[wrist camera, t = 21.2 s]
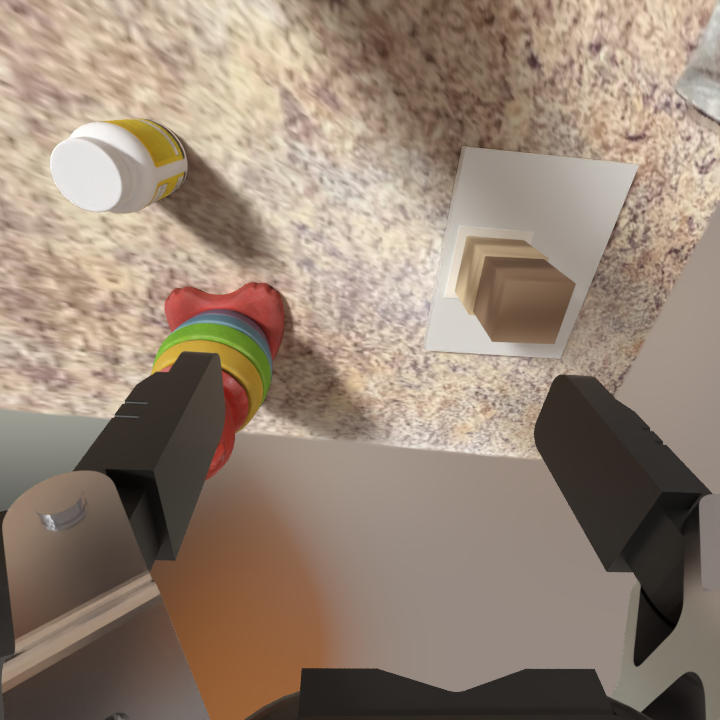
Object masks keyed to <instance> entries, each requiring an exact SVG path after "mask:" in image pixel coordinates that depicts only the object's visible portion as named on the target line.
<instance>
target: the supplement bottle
mask: <svg viewBox="0 0 720 720" xmlns="http://www.w3.org/2000/svg"><path fill="white" fill-rule="evenodd" d="M50 170H51V174H52V177H53V180H54V182H55V184H56V186H57V187H58V189H59V190H60V192H61V193H62V194H63V195H64V196H65V197H66V198H67V199H68V200H69V201H70V202H72V203H73V204H75V205H76V206H78V207H80V208H82V209H84V210H87V211H91V212H105V211H109V212H113V213H132V212H135V211H138V210H140V209H143V208H144V207H146V206H148V205H150V204H152V203H154V202H156V201H158V200H160V199H162V198H164V197H166V196H168V195H170V194H172V193H173V192H175V191H176V190H178V189H179V188H180V187H181V185H182V184H183V183H184V181H185V179H186V176H187V171H188V162H187V156H186V153H185V150H184V148H183V146H182V144H181V142H180V141H179V139H178V138H177V137H176V135H175V134H174V133H173V132H172V131H171V130H169V129H168V128H167V127H165V126H164V125H162V124H160V123H158V122H156V121H153V120H149V119H124V120H113V121H101V122H92V123H88V124H85V125H83V126H81V127H79V128H77V129H76V130H75V131H74V132H73V133H72V134H71V136H70V137H69V139H67V140H64V141H62V142H61V143H59V144H58V145H57V146H56V147H55V148H54V150H53V152H52V154H51V158H50Z"/></svg>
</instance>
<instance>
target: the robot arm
mask: <svg viewBox="0 0 720 720" xmlns="http://www.w3.org/2000/svg"><path fill="white" fill-rule="evenodd" d="M224 423H225V398H224V388H223V378H222V368H221V360H220V356H219V354H218V353H208V352H191V351H183V352H181V354H180V355H179V357H178V358H177V360H176V361H175V363H174V364H173V366H172V367H171V369H170V370H169V372H155V373H154V374H152V375H151V376H149V377H148V378H146V379H145V380H143V381H142V382H140V383H138V384H137V385H136V386H135V388H134V389H133V390H132V392H131V393H130V394H129V396H128V397H127V399H126V400H125V404H122V405H121V407H120V408H119V409H118V411H117V412H116V413H115V417H114V418H112V419H111V420H110V422H109V423H108V424H107V426H106V427H105V428H104V430H103V431H102V432H101V434H100V435H99V436H98V438H97V439H96V440H95V442H94V443H93V444H92V446H91V447H90V448H89V450H88V451H87V453H86V454H85V455H84V457H83V458H82V459H81V461H80V462H79V463H78V465H77V466H76V467H75V469H74V470H73V471H72V472H68V473H64V474H60V475H57V476H54V477H51V478H49V479H47V480H44V481H43V482H41V483H39V484H37V485H35V486H34V487H32V488H31V489H29V490H28V491H26V492H25V493H24V494H23V495H21V496H20V497H19V498H18V499H17V500H16V501H15V502H14V503H13V504H12V506H11V507H10V508H9V509H8V510H6V511H2V512H0V657H3V656H6V655H10V654H13V653H15V655H13V656H12V657H10V658H8V659H7V660H6V661H5V663H4V665H3V670H2V696H3V708H4V720H210V718H209V716H208V713H207V710H206V708H205V706H204V703H203V700H202V698H201V695H200V693H199V690H198V688H197V686H196V683H195V680H194V678H193V675H192V673H191V670H190V668H189V665H188V663H187V660H186V658H185V655H184V653H183V651H182V648H181V645H180V642H179V640H178V637H177V635H176V632H175V630H174V627H173V625H172V623H171V620H170V617H169V615H168V612H167V610H166V607H165V605H164V602H163V600H162V597H161V595H160V592H159V590H158V588H157V585H156V583H155V581H154V580H152V578H151V576H150V571H151V568H152V566H153V564H154V561H155V560H173V561H174V560H176V557H177V554H178V552H179V549H180V546H181V544H182V541H183V538H184V535H185V533H186V530H187V527H188V525H189V522H190V519H191V517H192V514H193V511H194V508H195V506H196V503H197V500H198V498H199V495H200V492H201V490H202V487H203V484H204V481H205V479H206V476H207V473H208V471H209V468H210V465H211V463H212V460H213V457H214V454H215V452H216V449H217V446H218V444H219V441H220V438H221V436H222V433H223V429H224ZM534 438H535V444H536V447H537V449H538V451H539V453H540V454H541V456H542V458H543V460H544V462H545V463H546V465H547V467H548V468H549V470H550V472H551V474H552V475H553V477H554V479H555V481H556V483H557V485H558V486H559V488H560V490H561V491H562V493H563V495H564V497H565V499H566V501H567V502H568V504H569V506H570V507H571V509H572V511H573V513H574V515H575V516H576V518H577V520H578V522H579V523H580V525H581V527H582V529H583V530H584V532H585V534H586V536H587V538H588V539H589V541H590V543H591V545H592V547H593V548H594V550H595V552H596V554H597V555H598V557H599V559H600V561H601V562H602V564H603V566H604V568H605V570H606V571H607V572H633V573H634V575H635V576H636V578H637V579H638V581H637V582H636V583H635V585H634V586H633V587H632V589H631V593H630V600H629V608H628V616H627V624H626V632H625V640H624V648H623V655H622V664H621V671H620V676H619V679H618V682H617V685H616V687H615V690H614V691H613V693H612V695H611V697H608V696H606V694H605V691H604V689H603V687H602V685H601V682H600V680H599V678H598V676H597V673H596V671H595V669H524V670H521V671H519V672H516V673H513V674H510V675H508V676H505V677H502V678H499V679H497V680H494V681H491V682H488V683H485V684H482V685H480V686H477V687H474V688H471V689H468V690H466V691H462V692H451V691H447V690H444V689H441V688H437V687H434V686H431V685H428V684H425V683H421V682H418V681H415V680H412V679H409V678H405V677H402V676H399V675H396V674H393V673H389V672H386V671H383V670H380V669H329V668H326V669H322V668H320V669H319V668H302V674H301V686H300V691H299V692H296V693H293V694H290V695H287V696H284V697H282V698H280V699H278V700H276V701H274V702H272V703H270V704H268V705H266V706H264V707H262V708H261V709H259V710H258V711H256V712H255V713H253V714H252V715H250V716H249V717H247V718H246V719H245V720H720V494H712V493H711V492H710V491H709V489H708V488H707V487H706V486H705V485H704V484H703V483H702V482H701V481H700V480H699V479H698V478H697V477H696V476H695V475H694V474H693V473H692V472H691V471H690V469H689V468H687V466H686V465H685V464H684V463H683V462H682V461H681V460H680V459H679V458H678V457H677V456H676V455H675V454H674V453H673V452H672V451H671V449H670V448H669V447H668V446H667V445H663V441H662V440H661V439H660V438H659V437H658V436H657V435H656V434H655V433H654V432H653V431H650V427H649V426H648V425H647V424H646V423H645V422H644V421H643V420H642V419H641V418H640V417H639V416H638V415H637V414H636V413H635V412H634V411H632V410H631V409H630V408H628V407H627V406H625V405H623V404H622V403H621V402H619V401H618V400H616V399H615V398H614V397H613V396H612V395H611V394H610V393H609V392H608V391H607V390H606V388H605V387H604V386H603V385H602V384H601V383H600V382H599V381H598V380H597V379H596V378H594V377H592V376H578V375H558V376H557V377H556V378H555V379H554V381H553V383H552V385H551V387H550V390H549V392H548V395H547V397H546V399H545V402H544V404H543V407H542V409H541V412H540V414H539V417H538V419H537V422H536V424H535V430H534Z"/></svg>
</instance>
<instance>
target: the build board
mask: <svg viewBox="0 0 720 720" xmlns="http://www.w3.org/2000/svg"><path fill="white" fill-rule="evenodd" d="M638 166H639V165H637V164H632V163H624V162H614V161H604V160H595V159H585V158H575V157H565V156H555V155H546V154H536V153H526V152H516V151H506V150H497V149H487V148H477V147H467V146H462V149H461V154H460V159H459V164H458V169H457V174H456V179H455V184H454V189H453V194H452V199H451V205H450V210H449V215H448V220H447V225H446V230H445V235H444V240H443V245H442V250H441V255H440V260H439V266H438V271H437V276H436V281H435V286H434V291H433V296H432V301H431V306H430V311H429V316H428V321H427V326H426V332H425V337H424V342H423V346H424V349H425V350H426V351H442V352H458V353H474V354H490V355H506V356H522V357H538V358H554V359H560V358H561V356H562V354H563V351H564V349H565V346H566V344H567V341H568V339H569V336H570V334H571V331H572V329H573V326H574V324H575V322H576V319H577V317H578V314H579V312H580V309H581V307H582V304H583V302H584V299H585V297H586V294H587V292H588V289H589V287H590V285H591V282H592V280H593V277H594V275H595V272H596V270H597V267H598V265H599V262H600V260H601V257H602V255H603V253H604V250H605V248H606V245H607V243H608V240H609V238H610V235H611V233H612V230H613V228H614V225H615V223H616V221H617V218H618V216H619V213H620V211H621V208H622V206H623V203H624V201H625V198H626V196H627V193H628V191H629V188H630V186H631V184H632V181H633V179H634V176H635V174H636V171H637V169H638ZM467 236H477V237H489V238H502V239H514V240H524V241H526V242H527V243H528V244H530V245H531V246H532V247H534V248H535V249H536V250H538V251H539V252H540V253H542V254H543V255H544V256H546V257H547V258H549V260H548V263H550V264H551V265H552V266H554V267H555V268H556V269H558V270H559V271H560V272H562V273H563V274H564V275H565V276H567V277H568V278H569V279H571V280H572V281H573V282H575V283H576V285H575V288H574V291H573V294H572V297H571V299H570V302H569V305H568V308H567V311H566V313H565V316H564V319H563V322H562V325H561V328H560V330H559V333H558V336H557V339H556V342H555V344H535V343H509V342H492V341H491V339H490V338H489V336H488V335H487V333H486V331H485V330H484V328H483V327H482V325H481V323H480V322H479V320H478V319H477V317H476V316H475V315H469V314H468V313H467V311H466V309H465V308H464V306H463V304H462V303H461V301H460V299H459V298H458V296H457V294H456V293H455V287H456V283H457V278H458V274H459V269H460V265H461V260H462V256H463V251H464V247H465V242H466V238H467Z"/></svg>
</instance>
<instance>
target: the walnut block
mask: <svg viewBox="0 0 720 720" xmlns="http://www.w3.org/2000/svg"><path fill="white" fill-rule="evenodd" d="M575 285H576V283H575V282H573V281H572V280H571V279H569V278H568V277H567V276H565V275H564V274H563V273H562V272H560V271H559V270H558V269H556V268H555V267H554V266H552V265H551V264H550V263H548V262H547V261H546V260H545V259H532V258H512V257H493V256H485V260H484V264H483V269H482V273H481V277H480V282H479V286H478V291H477V295H476V300H475V304H474V309H473V312H474V314H475V316H476V317H477V319H478V320H479V322H480V323H481V325H482V327H483V328H484V330H485V331H486V333H487V335H488V336H489V338H490V339H491V341H492V342H509V343H535V344H555V342H556V339H557V336H558V333H559V330H560V328H561V325H562V322H563V319H564V316H565V313H566V311H567V308H568V305H569V302H570V299H571V297H572V294H573V291H574V288H575Z"/></svg>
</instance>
